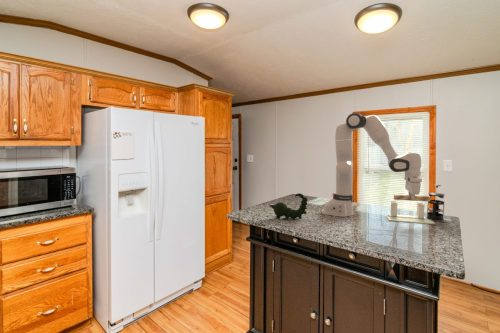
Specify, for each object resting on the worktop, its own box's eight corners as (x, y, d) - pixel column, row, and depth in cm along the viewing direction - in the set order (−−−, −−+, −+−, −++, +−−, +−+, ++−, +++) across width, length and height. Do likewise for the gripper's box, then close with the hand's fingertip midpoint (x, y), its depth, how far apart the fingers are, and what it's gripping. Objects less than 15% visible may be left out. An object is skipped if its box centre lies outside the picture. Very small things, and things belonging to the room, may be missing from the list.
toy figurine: (304, 219, 183) (269, 215, 187) (307, 193, 181) (271, 188, 185) (305, 224, 174) (267, 219, 178) (308, 195, 172) (270, 191, 176)
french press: (442, 222, 170) (444, 186, 168) (424, 219, 177) (426, 185, 174) (445, 218, 179) (447, 184, 176) (428, 215, 185) (430, 182, 183)
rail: (394, 199, 174) (394, 195, 174) (393, 198, 177) (394, 194, 176) (430, 201, 168) (430, 196, 167) (428, 200, 170) (428, 195, 170)
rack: (389, 216, 183) (390, 202, 182) (388, 214, 188) (388, 200, 187) (426, 219, 176) (427, 204, 175) (424, 217, 181) (424, 202, 180)
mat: (389, 220, 174) (389, 219, 174) (386, 217, 181) (386, 216, 181) (435, 224, 166) (435, 223, 166) (431, 220, 173) (431, 219, 173)
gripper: (403, 175, 181) (402, 195, 183) (410, 179, 162) (409, 201, 163) (413, 175, 179) (412, 195, 181) (422, 180, 160) (421, 202, 162)
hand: (411, 198), depth 172 cm, fingers closed on rail, 3 cm apart
